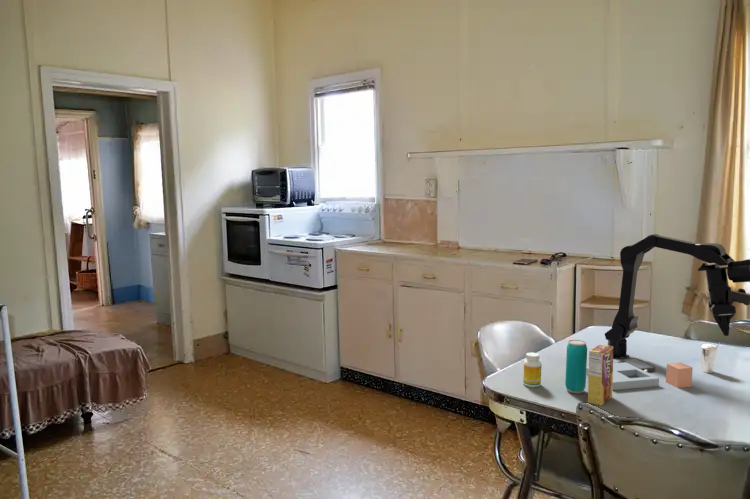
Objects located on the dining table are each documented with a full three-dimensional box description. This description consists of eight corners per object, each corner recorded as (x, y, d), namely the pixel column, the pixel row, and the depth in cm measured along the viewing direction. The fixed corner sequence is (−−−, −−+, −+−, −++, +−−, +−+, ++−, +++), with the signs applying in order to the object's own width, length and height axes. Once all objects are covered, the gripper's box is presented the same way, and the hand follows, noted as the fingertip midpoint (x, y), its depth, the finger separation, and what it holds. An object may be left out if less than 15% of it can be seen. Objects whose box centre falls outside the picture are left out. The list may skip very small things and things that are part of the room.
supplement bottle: (520, 381, 190) (521, 351, 188) (538, 381, 190) (539, 351, 188) (525, 387, 184) (526, 356, 183) (542, 387, 184) (544, 356, 183)
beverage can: (585, 388, 183) (587, 340, 181) (585, 395, 178) (587, 345, 176) (565, 386, 185) (567, 338, 183) (564, 393, 180) (566, 343, 178)
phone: (620, 363, 207) (621, 359, 207) (635, 362, 208) (635, 358, 208) (639, 372, 198) (640, 368, 197) (654, 371, 199) (654, 367, 199)
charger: (665, 382, 189) (667, 363, 188) (680, 381, 190) (681, 362, 189) (677, 387, 184) (678, 368, 183) (691, 386, 185) (693, 367, 184)
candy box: (597, 393, 179) (600, 343, 177) (612, 397, 176) (615, 346, 174) (586, 402, 172) (588, 350, 170) (601, 406, 170) (604, 353, 168)
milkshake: (720, 374, 196) (722, 344, 195) (702, 373, 197) (704, 343, 196) (715, 369, 200) (717, 340, 199) (697, 368, 201) (699, 339, 200)
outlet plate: (582, 372, 197) (582, 365, 197) (626, 369, 201) (626, 362, 201) (611, 390, 182) (612, 382, 182) (658, 385, 185) (659, 378, 185)
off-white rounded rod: (644, 371, 199) (644, 368, 199) (648, 372, 198) (648, 369, 198) (638, 377, 193) (638, 374, 193) (642, 377, 193) (642, 374, 193)
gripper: (751, 284, 179) (759, 336, 179) (743, 278, 196) (751, 326, 195) (708, 288, 183) (716, 339, 183) (704, 281, 200) (711, 328, 200)
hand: (725, 333), depth 190 cm, fingers open, 9 cm apart
